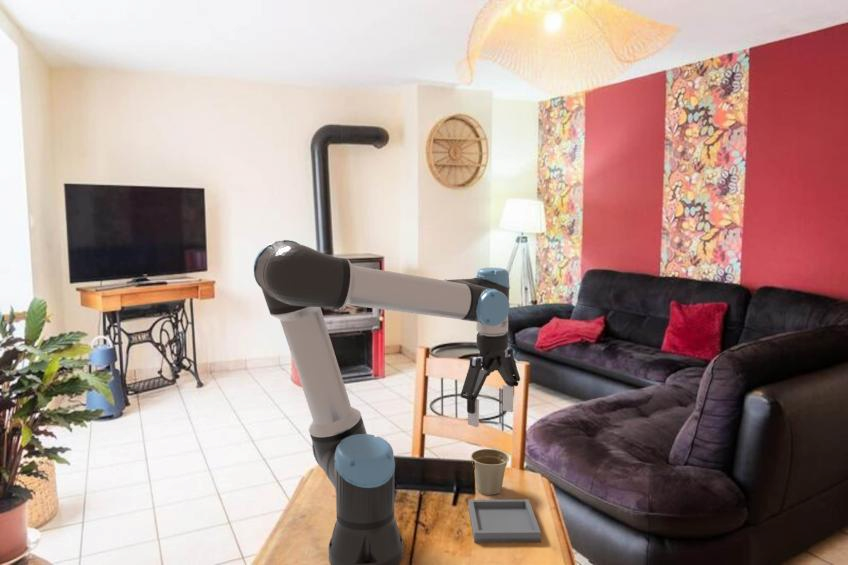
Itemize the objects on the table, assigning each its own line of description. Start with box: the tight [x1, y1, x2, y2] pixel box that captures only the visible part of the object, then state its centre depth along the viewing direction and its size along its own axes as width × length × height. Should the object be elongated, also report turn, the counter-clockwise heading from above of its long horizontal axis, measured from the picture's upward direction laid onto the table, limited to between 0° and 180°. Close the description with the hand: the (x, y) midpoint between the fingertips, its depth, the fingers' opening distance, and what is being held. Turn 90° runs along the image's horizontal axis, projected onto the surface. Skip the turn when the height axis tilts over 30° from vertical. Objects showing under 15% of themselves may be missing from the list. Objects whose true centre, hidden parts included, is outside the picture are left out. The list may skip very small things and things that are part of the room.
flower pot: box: [470, 448, 510, 496], centre depth 151 cm, size 9×9×9 cm
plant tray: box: [468, 498, 542, 544], centre depth 135 cm, size 14×14×2 cm
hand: (491, 417), depth 149 cm, fingers open, 13 cm apart
